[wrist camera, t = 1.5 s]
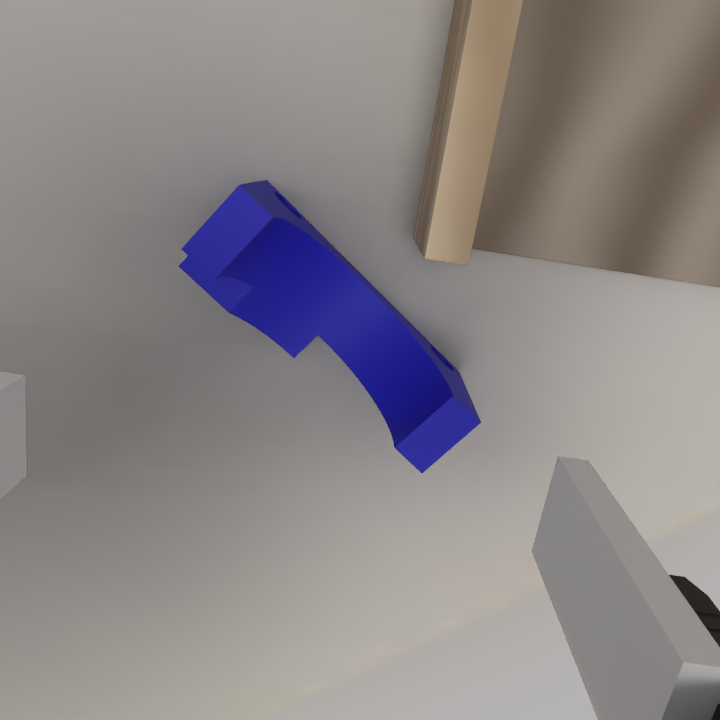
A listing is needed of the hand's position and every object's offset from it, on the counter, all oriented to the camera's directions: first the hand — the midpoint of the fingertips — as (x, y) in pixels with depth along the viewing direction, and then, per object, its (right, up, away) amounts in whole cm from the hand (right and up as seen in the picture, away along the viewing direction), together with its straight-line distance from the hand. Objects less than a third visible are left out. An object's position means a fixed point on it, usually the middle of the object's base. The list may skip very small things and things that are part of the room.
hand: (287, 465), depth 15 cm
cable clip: (+1, +5, +13) cm, 14 cm away
